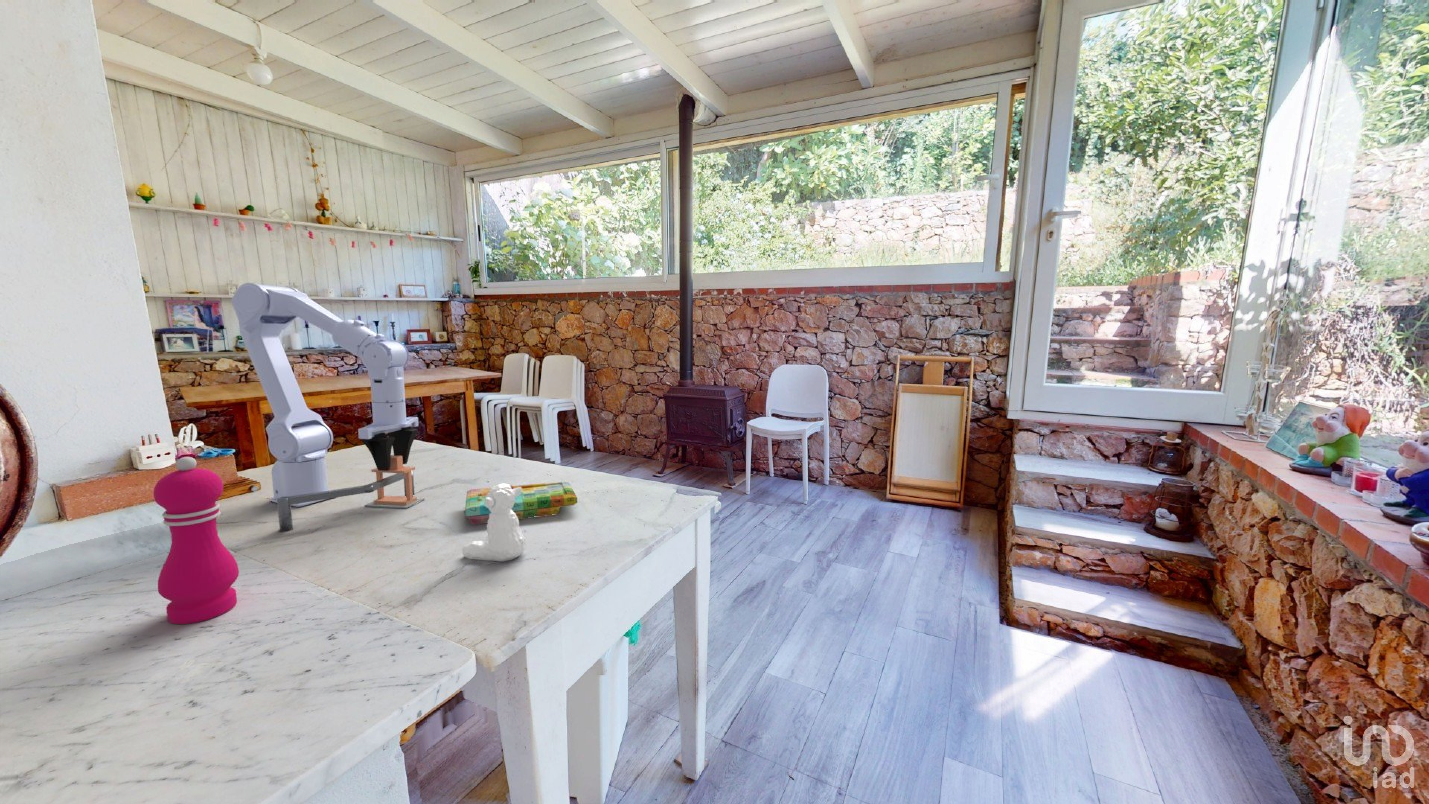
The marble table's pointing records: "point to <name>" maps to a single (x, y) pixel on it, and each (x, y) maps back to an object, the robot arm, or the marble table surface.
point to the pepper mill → (194, 546)
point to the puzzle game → (523, 501)
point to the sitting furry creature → (499, 528)
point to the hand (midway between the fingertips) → (392, 466)
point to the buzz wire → (286, 502)
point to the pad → (392, 504)
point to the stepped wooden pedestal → (398, 467)
